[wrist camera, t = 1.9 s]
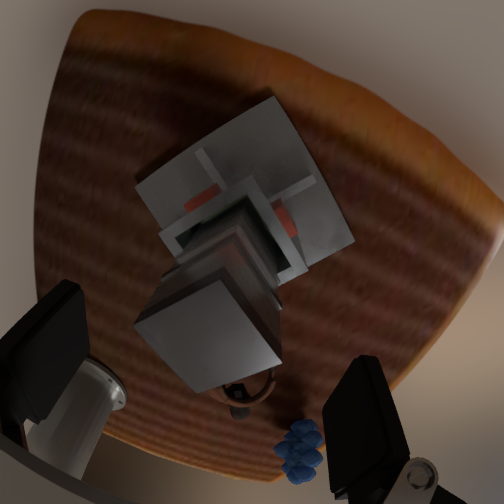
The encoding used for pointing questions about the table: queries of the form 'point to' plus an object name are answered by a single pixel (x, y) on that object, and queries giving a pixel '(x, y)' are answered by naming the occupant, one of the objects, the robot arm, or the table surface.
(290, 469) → the blue lumpy cluster
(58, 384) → the robot arm
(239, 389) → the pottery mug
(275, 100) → the stand base
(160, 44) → the table surface
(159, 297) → the column
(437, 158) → the table surface
